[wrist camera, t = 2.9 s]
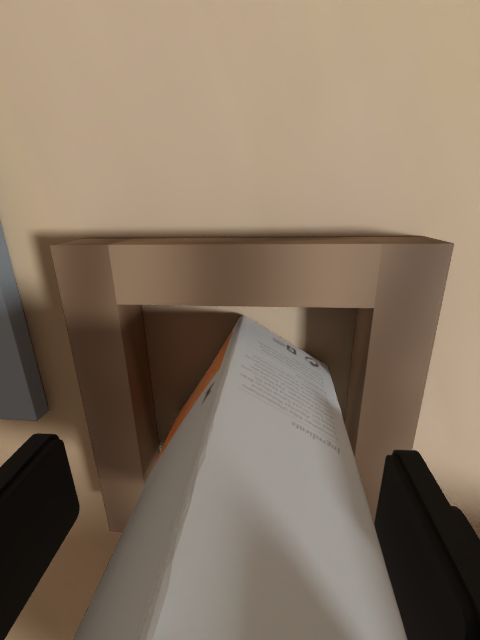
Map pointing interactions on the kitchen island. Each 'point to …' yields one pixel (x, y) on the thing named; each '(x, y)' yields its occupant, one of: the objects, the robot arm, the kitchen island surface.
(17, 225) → the kitchen island surface
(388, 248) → the pocket holder
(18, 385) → the slate mat
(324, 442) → the skincare box
